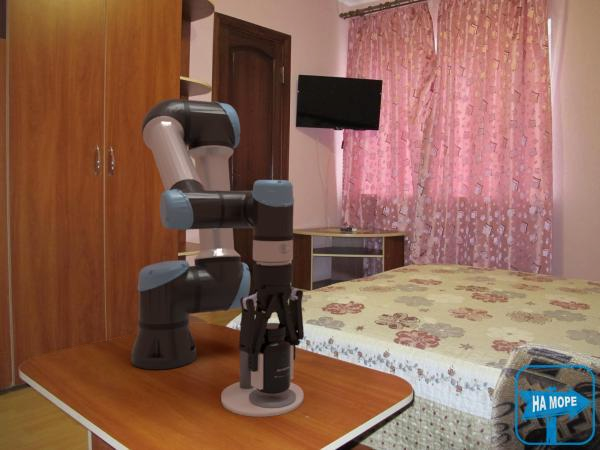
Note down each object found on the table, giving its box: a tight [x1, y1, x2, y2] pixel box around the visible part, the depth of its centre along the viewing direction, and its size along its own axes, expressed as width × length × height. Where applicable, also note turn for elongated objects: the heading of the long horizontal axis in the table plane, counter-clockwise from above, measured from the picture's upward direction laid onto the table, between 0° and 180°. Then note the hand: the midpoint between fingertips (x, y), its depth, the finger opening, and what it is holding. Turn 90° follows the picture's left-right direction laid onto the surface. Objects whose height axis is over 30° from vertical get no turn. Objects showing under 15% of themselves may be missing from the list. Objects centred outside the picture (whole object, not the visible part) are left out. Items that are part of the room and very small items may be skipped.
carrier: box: [220, 351, 304, 418], centre depth 97 cm, size 16×16×8 cm
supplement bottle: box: [256, 322, 291, 394], centre depth 94 cm, size 7×7×12 cm
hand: (272, 381), depth 94 cm, fingers closed on supplement bottle, 7 cm apart
